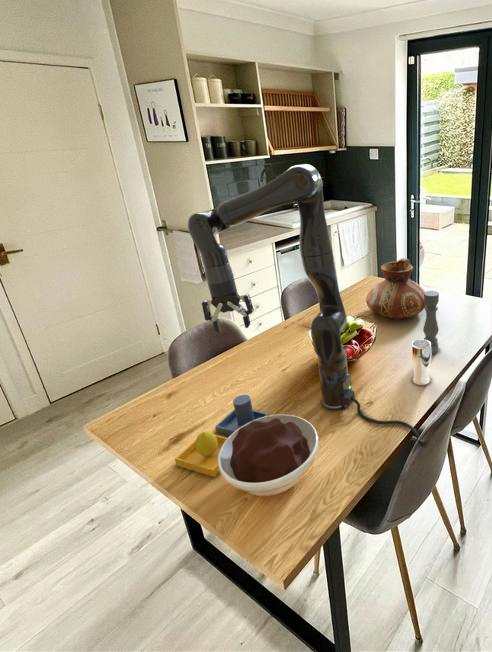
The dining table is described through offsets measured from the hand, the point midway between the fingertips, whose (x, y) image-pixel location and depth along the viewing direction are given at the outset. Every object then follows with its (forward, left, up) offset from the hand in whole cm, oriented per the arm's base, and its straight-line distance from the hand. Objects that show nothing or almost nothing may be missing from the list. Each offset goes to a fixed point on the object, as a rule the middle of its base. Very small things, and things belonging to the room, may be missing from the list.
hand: (233, 329), depth 124 cm
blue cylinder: (-7, +10, -27) cm, 30 cm away
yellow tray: (-5, +24, -28) cm, 37 cm away
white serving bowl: (-26, +24, -28) cm, 45 cm away
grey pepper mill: (-50, -51, -28) cm, 77 cm away
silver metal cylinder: (-52, -29, -28) cm, 66 cm away
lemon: (-5, +24, -27) cm, 37 cm away
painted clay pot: (-25, -83, -28) cm, 91 cm away
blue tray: (-6, +11, -28) cm, 30 cm away
